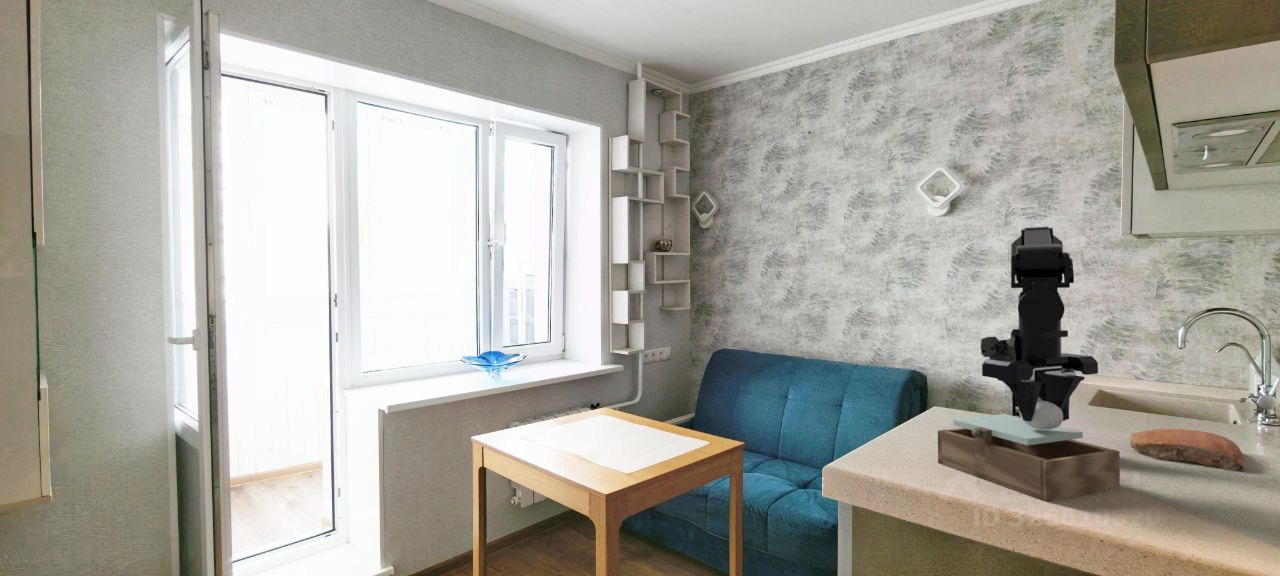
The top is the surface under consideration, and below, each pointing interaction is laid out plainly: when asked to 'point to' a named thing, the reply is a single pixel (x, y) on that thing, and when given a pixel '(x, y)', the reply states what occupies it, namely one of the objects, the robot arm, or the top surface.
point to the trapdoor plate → (1017, 429)
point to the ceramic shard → (1189, 447)
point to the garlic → (1045, 416)
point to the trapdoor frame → (1031, 463)
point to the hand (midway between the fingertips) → (1040, 419)
